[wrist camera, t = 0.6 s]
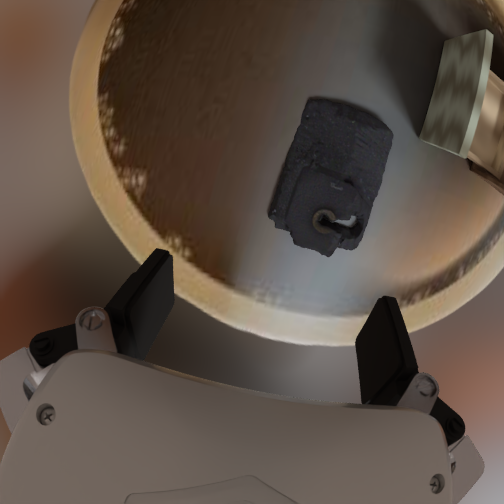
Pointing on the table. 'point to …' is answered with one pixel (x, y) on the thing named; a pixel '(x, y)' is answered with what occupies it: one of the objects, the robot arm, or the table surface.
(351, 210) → the black tote bag
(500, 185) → the walnut box
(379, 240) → the table surface
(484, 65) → the pull-out wooden drawer
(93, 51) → the table surface
